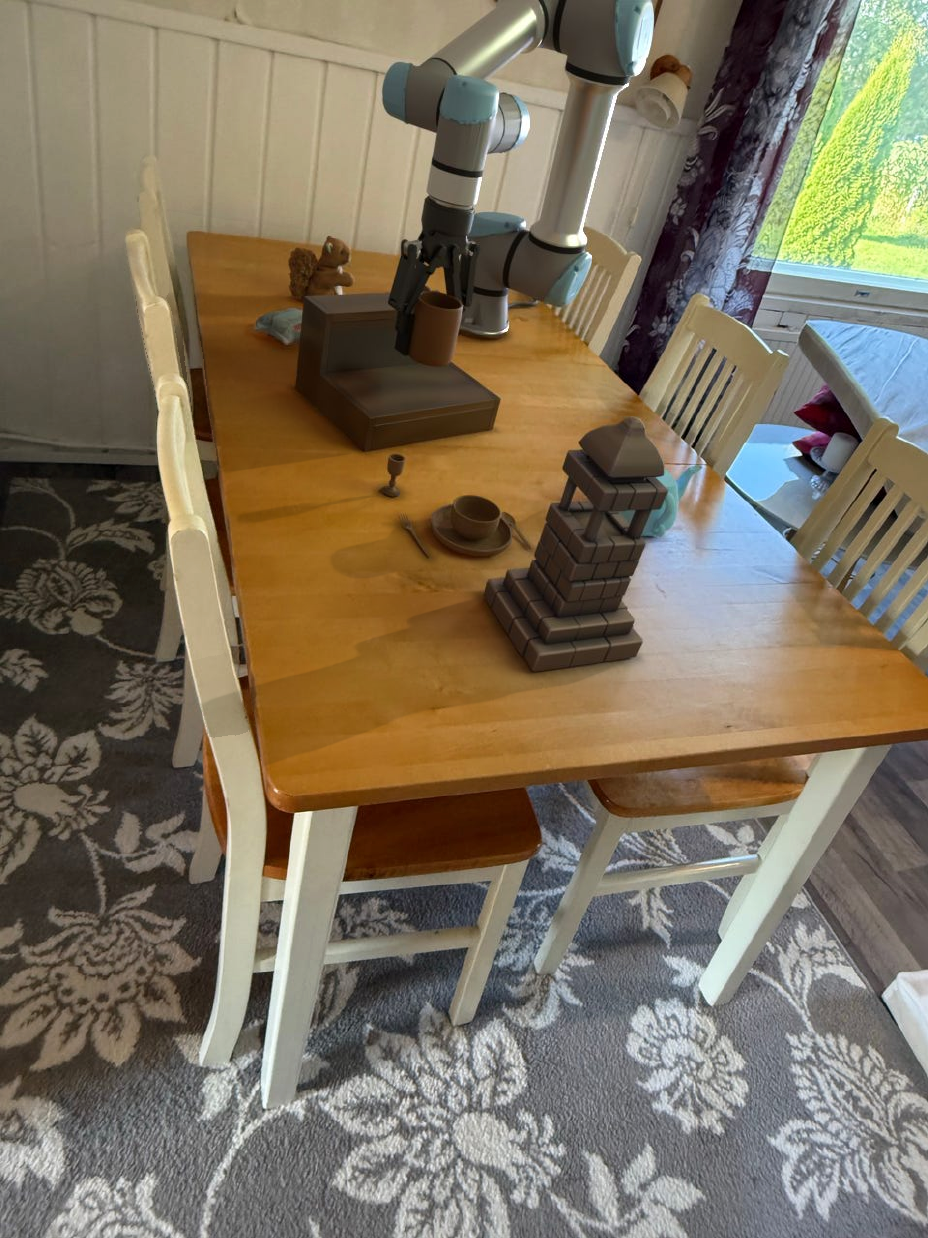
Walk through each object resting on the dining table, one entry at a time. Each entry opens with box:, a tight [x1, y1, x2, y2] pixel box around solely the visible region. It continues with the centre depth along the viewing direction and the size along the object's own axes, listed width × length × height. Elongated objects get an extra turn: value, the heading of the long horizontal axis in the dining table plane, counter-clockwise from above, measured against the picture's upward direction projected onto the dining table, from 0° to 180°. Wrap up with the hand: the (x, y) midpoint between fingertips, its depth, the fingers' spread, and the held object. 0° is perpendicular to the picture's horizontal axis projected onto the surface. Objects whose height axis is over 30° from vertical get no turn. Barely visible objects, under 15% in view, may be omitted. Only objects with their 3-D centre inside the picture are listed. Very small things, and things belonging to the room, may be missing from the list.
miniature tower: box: [482, 416, 668, 672], centre depth 102 cm, size 16×15×30 cm
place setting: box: [381, 452, 532, 558], centre depth 123 cm, size 18×20×6 cm
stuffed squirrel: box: [287, 235, 355, 303], centre depth 175 cm, size 10×14×13 cm
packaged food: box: [254, 307, 303, 346], centre depth 160 cm, size 9×12×5 cm
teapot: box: [619, 465, 703, 538], centre depth 133 cm, size 13×14×11 cm
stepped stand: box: [294, 289, 502, 453], centre depth 144 cm, size 22×27×16 cm
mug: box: [408, 285, 463, 367], centre depth 136 cm, size 12×8×9 cm, turn 23°
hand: (421, 349), depth 139 cm, fingers closed on mug, 7 cm apart
